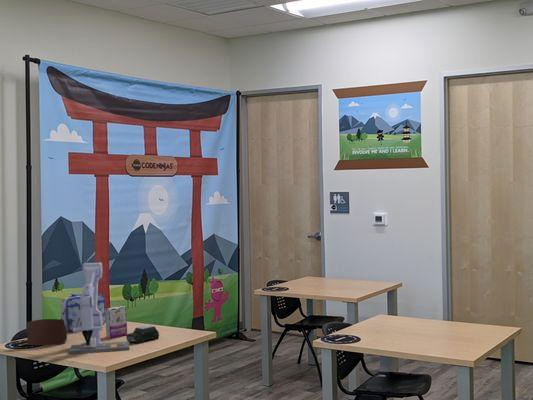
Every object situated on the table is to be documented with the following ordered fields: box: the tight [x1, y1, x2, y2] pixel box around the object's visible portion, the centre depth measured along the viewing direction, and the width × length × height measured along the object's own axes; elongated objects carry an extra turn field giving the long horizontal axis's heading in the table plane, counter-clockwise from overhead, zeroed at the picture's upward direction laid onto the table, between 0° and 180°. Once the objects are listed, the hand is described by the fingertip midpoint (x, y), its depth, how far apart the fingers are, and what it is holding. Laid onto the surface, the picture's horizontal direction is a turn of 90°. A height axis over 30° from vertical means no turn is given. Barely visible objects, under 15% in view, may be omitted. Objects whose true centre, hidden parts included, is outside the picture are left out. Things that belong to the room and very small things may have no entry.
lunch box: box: [60, 293, 107, 332], centre depth 427 cm, size 28×10×22 cm, turn 133°
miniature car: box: [125, 324, 161, 345], centre depth 390 cm, size 9×18×8 cm, turn 138°
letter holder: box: [26, 318, 68, 346], centre depth 390 cm, size 10×20×14 cm, turn 100°
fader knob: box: [91, 338, 96, 347], centre depth 369 cm, size 4×2×4 cm, turn 11°
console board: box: [68, 340, 130, 355], centre depth 371 cm, size 14×30×2 cm, turn 101°
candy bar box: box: [105, 305, 128, 339], centre depth 403 cm, size 11×5×16 cm, turn 131°
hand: (88, 345), depth 368 cm, fingers closed
